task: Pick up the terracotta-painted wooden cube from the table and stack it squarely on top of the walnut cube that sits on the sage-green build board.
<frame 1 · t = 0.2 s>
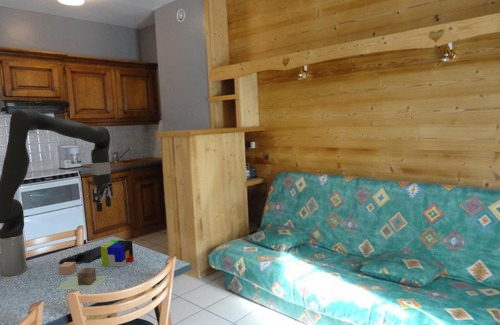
hand: (104, 209, 156), 28 cm above the table, fingers open, 8 cm apart
terracotta block: (68, 275, 157), on the table
walnut block: (87, 282, 146), point 1 cm above the table, touching build board
dark slate chunk: (85, 259, 176), on the table
puzzle toy: (118, 264, 167), on the table
build board: (82, 285, 146), on the table
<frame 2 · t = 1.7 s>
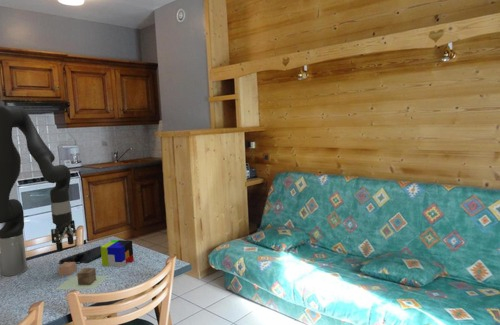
hand: (65, 247, 155), 12 cm above the table, fingers open, 8 cm apart
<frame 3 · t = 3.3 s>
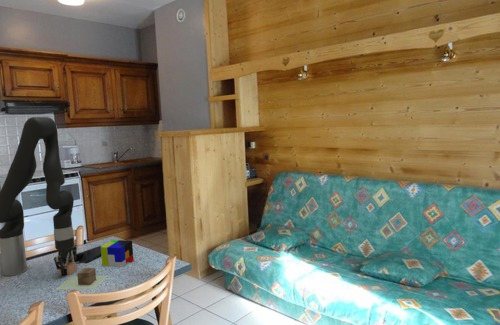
hand: (67, 273, 157), 0 cm above the table, fingers closed on terracotta block, 5 cm apart
terracotta block: (68, 275, 157), on the table, touching gripper
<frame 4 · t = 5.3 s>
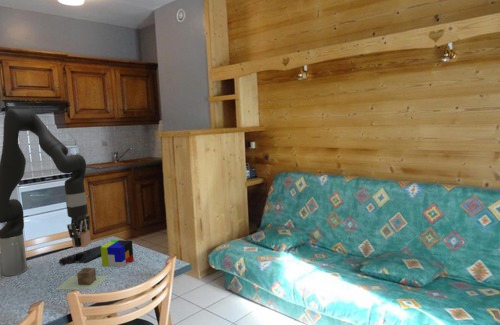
hand: (81, 244, 147), 17 cm above the table, fingers closed on terracotta block, 5 cm apart
terracotta block: (81, 245, 147), point 16 cm above the table, touching gripper
when the fingers open (8 cm above the table, at t = 7.4 s): terracotta block drops 1 cm, resting on walnut block.
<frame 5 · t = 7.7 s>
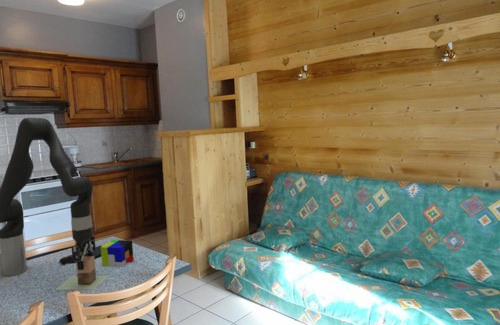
hand: (85, 265, 145), 8 cm above the table, fingers open, 7 cm apart
terracotta block: (86, 270, 145), point 6 cm above the table, touching walnut block
walnut block: (87, 282, 146), point 1 cm above the table, touching build board, terracotta block
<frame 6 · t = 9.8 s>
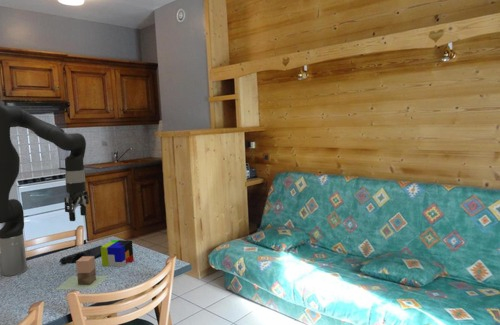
hand: (78, 218, 152), 26 cm above the table, fingers open, 8 cm apart
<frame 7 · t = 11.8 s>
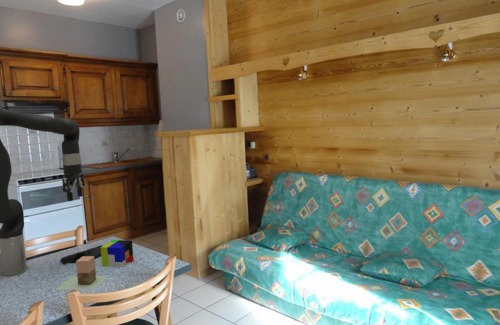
hand: (75, 198, 163), 32 cm above the table, fingers open, 8 cm apart
at the end: terracotta block 0.1 cm off-centre on the walnut block, point 5.0 cm above the walnut block's base; terracotta block tilted 0°; walnut block moved 0.0 cm from its start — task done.
